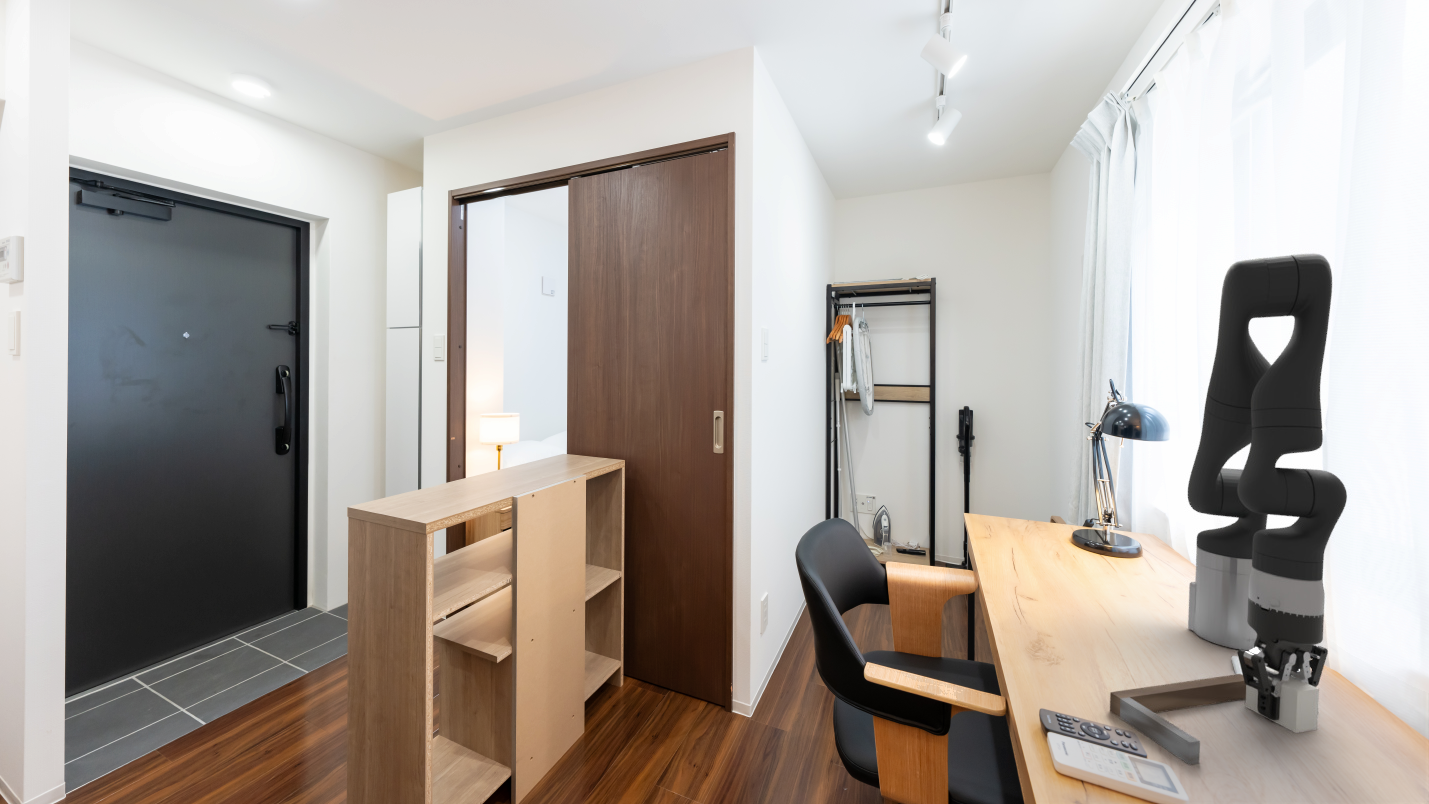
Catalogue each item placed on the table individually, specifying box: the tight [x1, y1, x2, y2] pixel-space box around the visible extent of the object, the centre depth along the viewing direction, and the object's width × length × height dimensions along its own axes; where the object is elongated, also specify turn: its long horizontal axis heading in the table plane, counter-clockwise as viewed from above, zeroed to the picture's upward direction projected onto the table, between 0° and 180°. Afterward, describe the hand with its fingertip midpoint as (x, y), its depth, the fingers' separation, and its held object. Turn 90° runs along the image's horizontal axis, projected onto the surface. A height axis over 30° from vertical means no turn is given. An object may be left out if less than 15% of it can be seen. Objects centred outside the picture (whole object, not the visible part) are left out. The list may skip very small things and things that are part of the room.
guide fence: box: [1109, 673, 1246, 765], centre depth 75 cm, size 11×25×3 cm, turn 101°
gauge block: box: [1244, 666, 1320, 734], centre depth 77 cm, size 6×4×6 cm, turn 11°
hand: (1280, 714), depth 77 cm, fingers closed on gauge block, 4 cm apart
